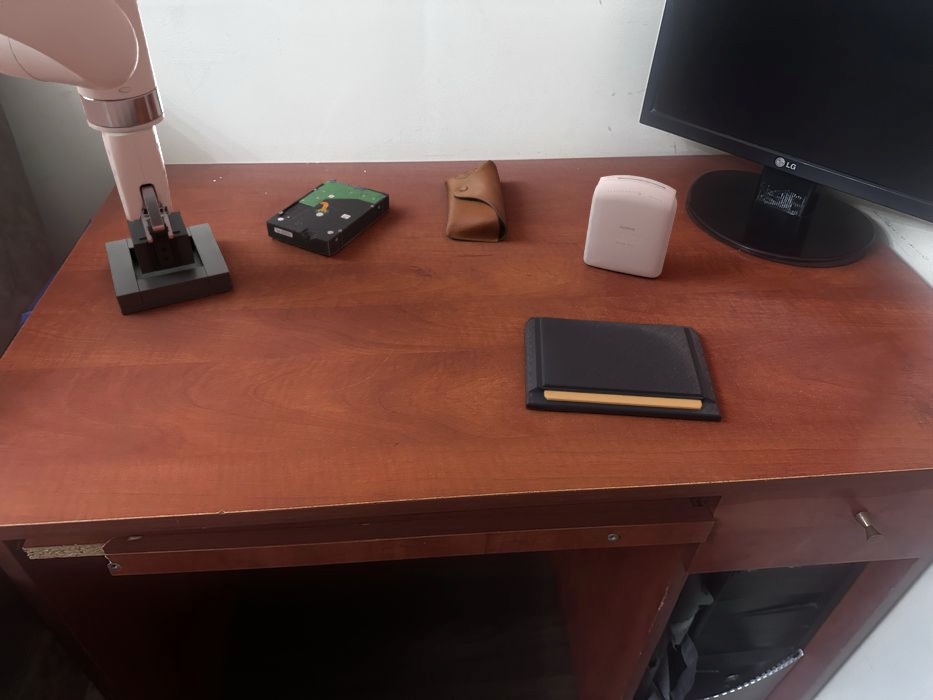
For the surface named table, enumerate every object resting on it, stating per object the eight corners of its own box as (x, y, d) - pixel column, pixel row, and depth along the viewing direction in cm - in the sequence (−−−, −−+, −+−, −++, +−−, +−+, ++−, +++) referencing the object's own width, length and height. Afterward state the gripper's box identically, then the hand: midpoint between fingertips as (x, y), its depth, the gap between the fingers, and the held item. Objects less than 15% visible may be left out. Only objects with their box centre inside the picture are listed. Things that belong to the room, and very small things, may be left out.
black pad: (142, 274, 82) (132, 243, 80) (135, 249, 86) (126, 218, 84) (195, 263, 84) (187, 232, 82) (186, 239, 89) (178, 209, 86)
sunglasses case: (441, 177, 109) (465, 142, 105) (479, 198, 112) (503, 165, 108) (444, 238, 95) (471, 200, 92) (488, 261, 98) (516, 225, 94)
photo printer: (579, 266, 92) (593, 178, 84) (586, 249, 95) (600, 163, 87) (658, 283, 90) (681, 194, 82) (663, 266, 93) (685, 179, 85)
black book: (701, 319, 81) (727, 413, 69) (696, 332, 82) (721, 426, 70) (526, 305, 82) (523, 395, 70) (525, 318, 83) (521, 409, 71)
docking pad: (122, 315, 81) (116, 296, 79) (110, 260, 89) (104, 242, 88) (233, 289, 85) (229, 271, 84) (212, 240, 94) (208, 222, 92)
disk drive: (332, 260, 91) (391, 210, 102) (329, 241, 89) (390, 192, 100) (267, 239, 95) (330, 192, 105) (263, 221, 93) (329, 175, 103)
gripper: (77, 82, 78) (121, 226, 90) (91, 142, 66) (140, 299, 78) (149, 74, 81) (183, 215, 92) (174, 130, 69) (210, 283, 81)
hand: (163, 252), depth 85 cm, fingers closed on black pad, 6 cm apart
